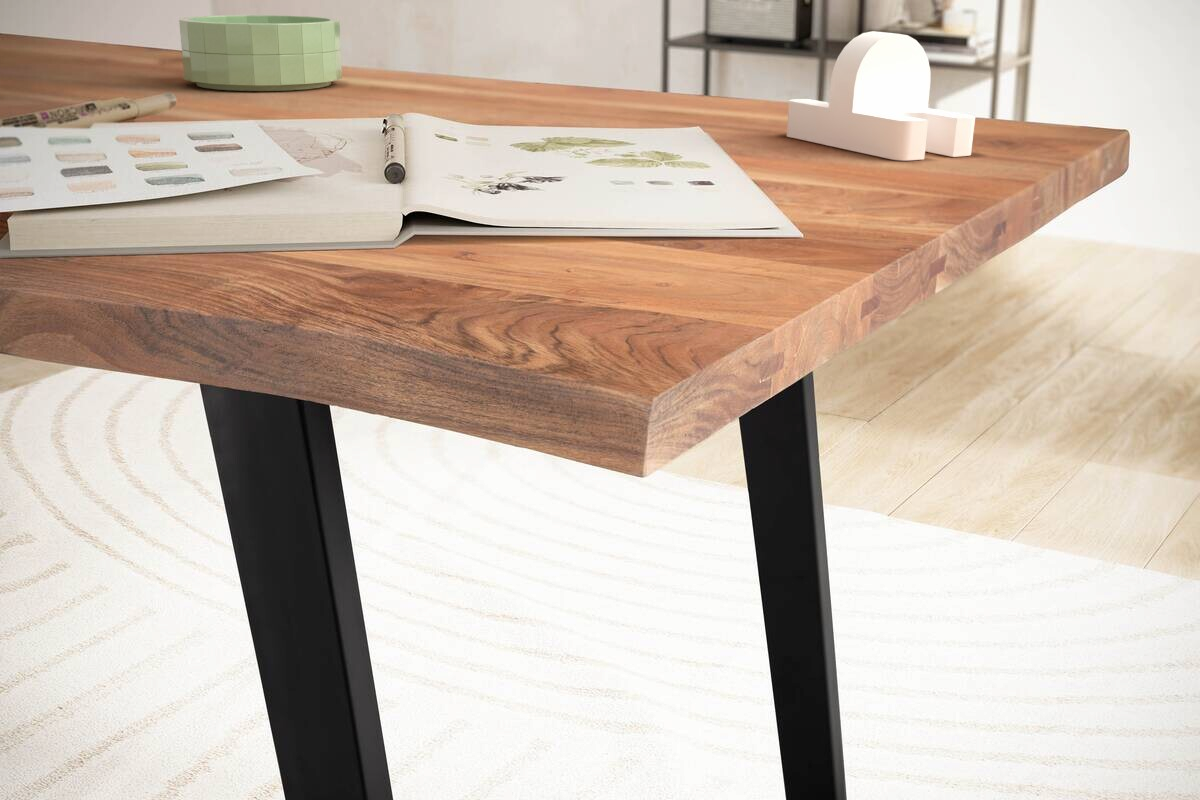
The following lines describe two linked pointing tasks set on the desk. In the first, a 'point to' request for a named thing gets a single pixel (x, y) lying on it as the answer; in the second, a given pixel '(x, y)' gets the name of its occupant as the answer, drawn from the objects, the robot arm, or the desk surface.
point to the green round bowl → (261, 52)
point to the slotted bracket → (881, 104)
